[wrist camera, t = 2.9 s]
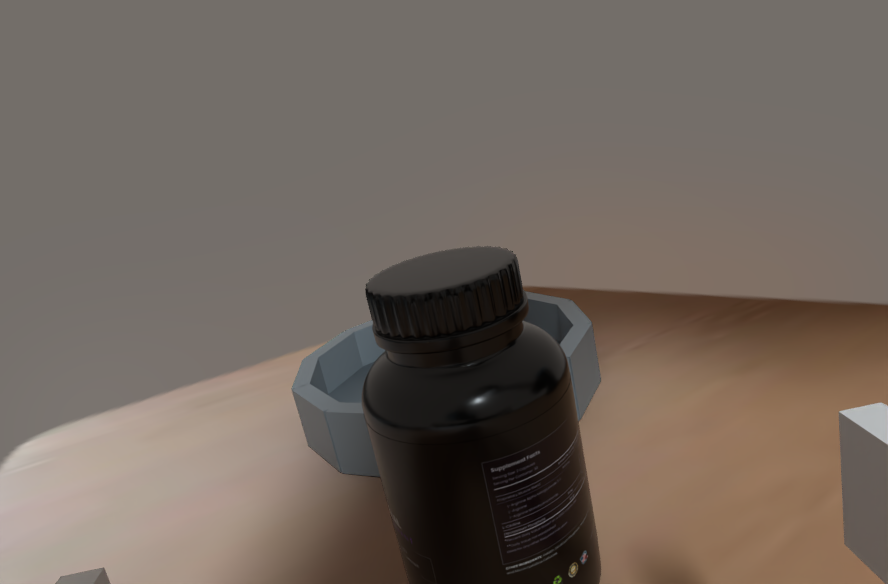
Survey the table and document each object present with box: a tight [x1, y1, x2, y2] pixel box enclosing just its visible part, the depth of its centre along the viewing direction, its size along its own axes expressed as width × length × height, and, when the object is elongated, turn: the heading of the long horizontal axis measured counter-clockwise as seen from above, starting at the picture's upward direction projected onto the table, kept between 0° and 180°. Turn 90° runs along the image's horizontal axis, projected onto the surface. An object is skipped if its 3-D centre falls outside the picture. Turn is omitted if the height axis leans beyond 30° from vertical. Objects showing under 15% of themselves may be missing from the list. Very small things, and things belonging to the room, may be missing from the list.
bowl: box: [292, 291, 601, 477], centre depth 39 cm, size 17×17×4 cm
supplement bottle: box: [361, 246, 601, 584], centre depth 22 cm, size 7×7×12 cm
